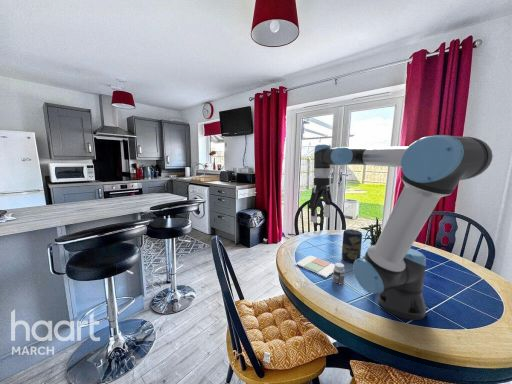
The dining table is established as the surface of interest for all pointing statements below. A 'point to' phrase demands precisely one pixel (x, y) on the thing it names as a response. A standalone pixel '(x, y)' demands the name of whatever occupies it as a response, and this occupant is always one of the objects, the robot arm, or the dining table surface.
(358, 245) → the canister
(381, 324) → the dining table surface
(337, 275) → the pill bottle
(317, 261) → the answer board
